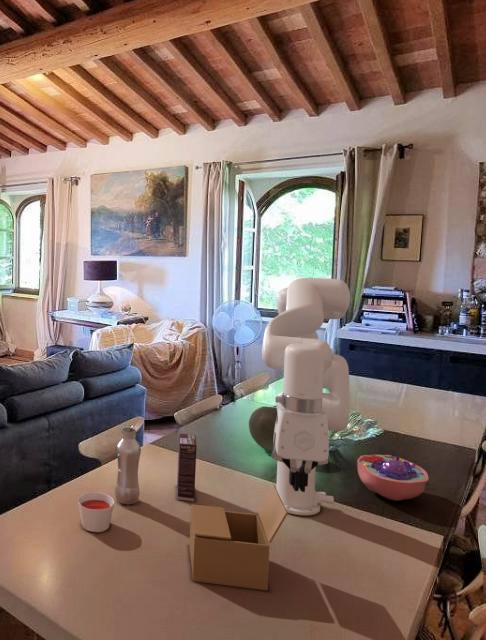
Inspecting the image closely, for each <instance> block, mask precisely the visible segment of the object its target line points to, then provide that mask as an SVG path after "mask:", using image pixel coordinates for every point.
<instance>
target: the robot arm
mask: <svg viewBox="0 0 486 640" xmlns="http://www.w3.org/2000/svg"><path fill="white" fill-rule="evenodd" d="M350 304H351V292H350V288H349V286H348V284H347V282H345V281H344V280H342V279H340V278H339V279H338V278H322V277H301V278H300V277H299V278H296V279H293V281H291V282H290V283H289V284H288V286H287V287H285V288H282V289H281V290H279V291H278V293H277V296H276V307H277V312H278V313H277V314H278V315H276V316H274V317H273V318H272V319H271V320H270V321H269V322H268V323H267V325H266V327H265V329H264V333H263V339H262V345H261V346H262V347H261V358H262V362H263V363H264V366H266V367H267V368H269V369H273V370H279V371H283V383H282V384H283V385H282V386H283V387H282V391H281V392H279V393H278V395H277V396H275V398H274V399H275V403H276V408H277V418H276V423H275V430H274V440H273V445H274V449H273V451H272V452H271V453H270V454H271V458H272V459H273V460H274V461H277V465H276V466H277V467H276V484H275V488H276V490H277V492H278V494H279V496H280V498H281V500H282V502H283V504H284V506H285V508H286V510H287V512H288V514H292V515H297V516H304V517H305V516H314V515H317V514H318V513H320V511H321V504H322V503H326V504H333V505H334V503H335V497H334V496H333V495H327V493H326V491H325V492H324V491H317V490H316V469H317V467H318V466H322V465H323V466H324V465H327V464H328V463H329V456H330V434H329V431H333V432H342V431H344V430H347V428H348V425H349V421H350V370H349V364H348V362H347V359H346V358H344V356H342V355H340V354H336V353H334V352H333V348H331V346H330V344H329V343H328V342H327V341H325V340H323V339H319V335H318V333H317V331H318V330H319V329H320V328H321V327H322V326H323V324H324V320H340V319H342V318H343V317H344V316H345V315H346V313H347V311H348V309H349V307H350ZM324 390H327V391H328V392H329V393H328V392H324Z"/></svg>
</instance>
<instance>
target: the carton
mask: <svg viewBox="0 0 486 640" xmlns="http://www.w3.org/2000/svg"><path fill="white" fill-rule="evenodd" d="M189 520H190V521H189V523H190V524H189V555H190V565H191V575H192V576H191V577H192V581H193V582H198V583H206V584H214V585H222V586H230V587H238V588H245V589H246V588H247V589H253V590H261V591H262V590H263V591H268V589H269V588H268V585H269V567H270V564H269V563H270V543H269V541H268V538H267V536H266V533H265V530H264V528H263V525H262V522H261V520H260V517H259V514H258V513H247V512H238V511H229V510H225V507H221V506H211V505H201V504H193V503H192V504H190V519H189Z"/></svg>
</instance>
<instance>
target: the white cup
mask: <svg viewBox="0 0 486 640" xmlns="http://www.w3.org/2000/svg"><path fill="white" fill-rule="evenodd" d="M77 505H78V510H79V511H78V512H79V516H80V522H81V526H82V528H83V529H84V530H86V531H88V532H91V533H101V532H106V530H108V529H109V528H110V525H111V520H112V515H113V510H114V506H115V500H114V498H113V497H112V496H111V495H109V494H107V493H104V492H99V491H98V492H95V491H92V492H86V493H83V494H81V495H79V496H78V498H77Z"/></svg>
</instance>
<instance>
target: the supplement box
mask: <svg viewBox="0 0 486 640" xmlns="http://www.w3.org/2000/svg"><path fill="white" fill-rule="evenodd" d="M197 447H198V444H197V437H196V434H190V433H179V435H178V455H177V456H178V458H177V459H178V460H177V478H176V482H177V483H176V497H177V498H176V499H177V500H179V501H187V502H195V493H196V471H197V469H196V468H197V466H196V465H197Z"/></svg>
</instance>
